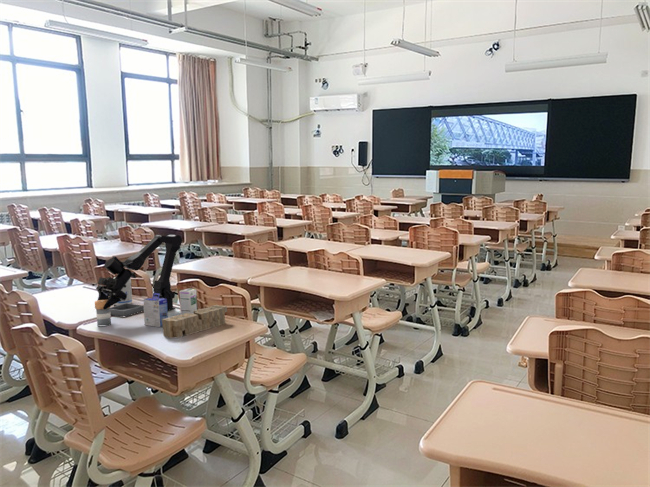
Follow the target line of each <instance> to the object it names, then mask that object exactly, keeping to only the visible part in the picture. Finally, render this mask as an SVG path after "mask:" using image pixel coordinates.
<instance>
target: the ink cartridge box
mask: <svg viewBox="0 0 650 487" xmlns="http://www.w3.org/2000/svg"><path fill="white" fill-rule="evenodd" d="M156 295H158V297H157V296H156ZM159 296H160V294H159V293H154V292H153V294H152V297H148V298H144V299H143V300H142V301H143V305H144V311H143V317H144V318H143V321H144V322H143V323H144V326H150V327H159V328H161V327H162V328H163V324H162V319H166V318H169V314H168V313H169V312H168V311H167V299H164V298H159Z"/></svg>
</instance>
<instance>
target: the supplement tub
mask: <svg viewBox="0 0 650 487" xmlns="http://www.w3.org/2000/svg"><path fill="white" fill-rule="evenodd" d="M132 289H133V288H132V278H130V279H129V280H128V282H127V283H126V287H125V288H124V287H123V289H122V291H123V292H124V293H125V294H127V298H126V300H125V301H124V300H121V299H120V300H121V301H119V302H118V303H116V304H114V306H118V305H122V304H126V303H128V304H133V292H132Z"/></svg>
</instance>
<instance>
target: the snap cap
mask: <svg viewBox="0 0 650 487" xmlns="http://www.w3.org/2000/svg"><path fill="white" fill-rule="evenodd" d="M97 300H98V299H97ZM97 300H95V301H94V308H95V310H96V309H103V307H104V305H105V303H106V302H107V300H108V299H104V300H98V301H97ZM111 307H112V306H110V307H108V308H111Z"/></svg>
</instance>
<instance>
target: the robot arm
mask: <svg viewBox="0 0 650 487" xmlns="http://www.w3.org/2000/svg"><path fill="white" fill-rule="evenodd" d="M182 243H183V237H181V236H180V235H179V234H168V235H162V234H155V235H154V237H153V238H152V239H151V240H150V241H149V242H148V243H147V244H146V245H144V246H143V247H142V249H141V250H139V252H137V253H135V254H133V255H131V256H129V257H128V258H125V259H126V260H123V261H121V260H119V258H118V257H117V256H112V257H111V258H109V259H108V260H107V261H105V262H104V265H103V266H104V268H105V269H106V270H107V271H109V273H111V274H112V275H115V277H110V276H108V277H99V278H98V281H97V287H96V288H95V290H96V291H97V292H98V297H97V300H96V301H98V300H104V299H108V300H107V302H106V303H105V305H104V307H103V309H107V308H108V307H110V306H111V307H113V305H114V304H116V303H118V302H119V301H121V300H124V301H125V300H126V298H127V294H125V293H124V292H123V291H122V289H123V287H124V288H125V287H126V283H127V282H128V280H129V279H130V278H131V279H132V278H133V279H136V278H137V276H136V272H135V271H139V270H140V269H141V268H142V267H143V266H144V265H145V262H146V259H148V257H149V256H151V254H153V252H154V251H156V250H157V249H158V248H159V247H160V246H161V245H162V244H164V246H165V255H164V259H163V264H162V267H161V272H160V275H159V278H158V279H157V280H154V283H153V286H152V289H153V290H152V291H153V294H154V293H159V294H160V296H159V298H164V299H167V311H172V310H176V307H174V302H173V299H175V297H176V293H175V292H173V291H172V290H171V289H172V288H171V287H172V286H171V281H170V280H171V276H172V275H171V274H172V271H173V267H174V264H175V263H174V262H175V258H176V255H177V252H178V250H179V249H180V248H181V245H182ZM133 271H134V272H133ZM155 296H157V297H158V295H155ZM120 299H121V300H120ZM114 306H115V305H114ZM111 307H110V308H111Z"/></svg>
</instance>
